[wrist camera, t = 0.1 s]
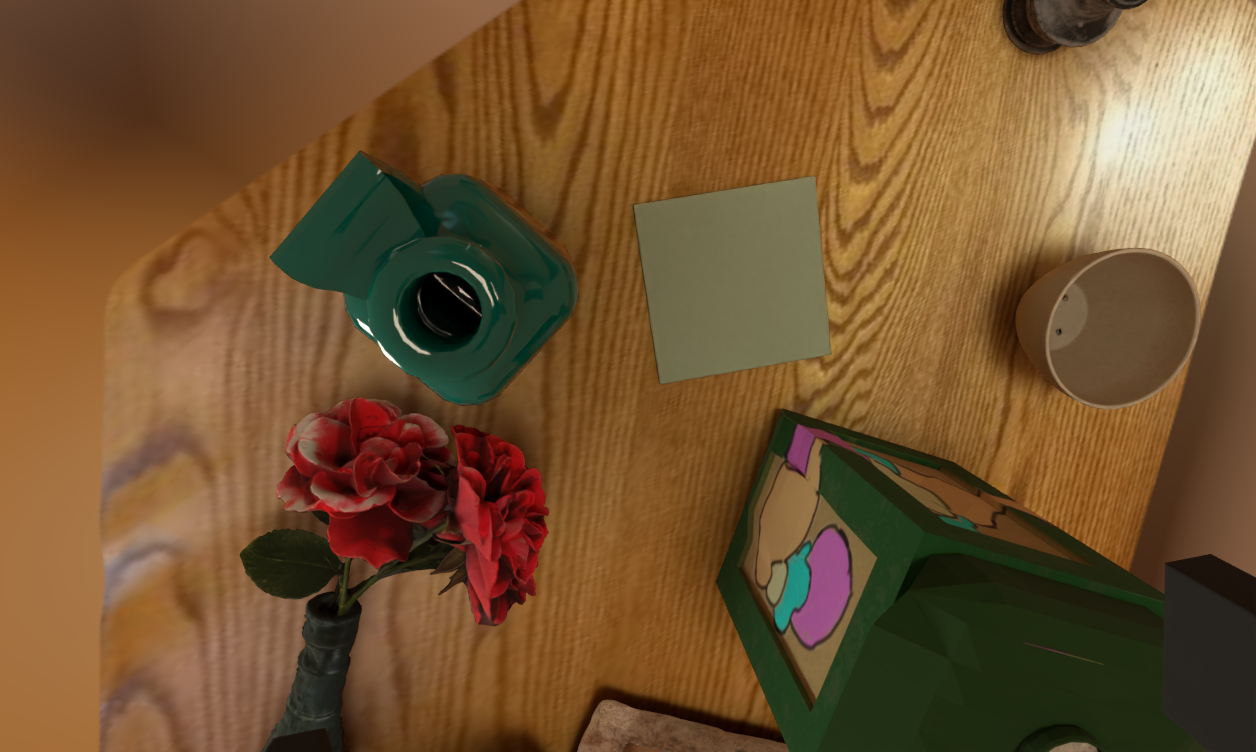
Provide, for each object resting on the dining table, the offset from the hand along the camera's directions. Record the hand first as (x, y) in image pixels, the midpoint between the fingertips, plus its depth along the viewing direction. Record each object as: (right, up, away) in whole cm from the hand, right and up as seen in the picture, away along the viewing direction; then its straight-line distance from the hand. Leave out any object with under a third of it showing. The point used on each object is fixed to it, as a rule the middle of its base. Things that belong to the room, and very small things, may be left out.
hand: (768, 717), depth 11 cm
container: (+13, -6, +42) cm, 45 cm away
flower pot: (+28, +10, +40) cm, 50 cm away
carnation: (-19, -12, +40) cm, 46 cm away
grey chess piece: (+24, +29, +36) cm, 52 cm away
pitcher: (-11, +13, +36) cm, 40 cm away
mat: (+5, +12, +37) cm, 40 cm away
